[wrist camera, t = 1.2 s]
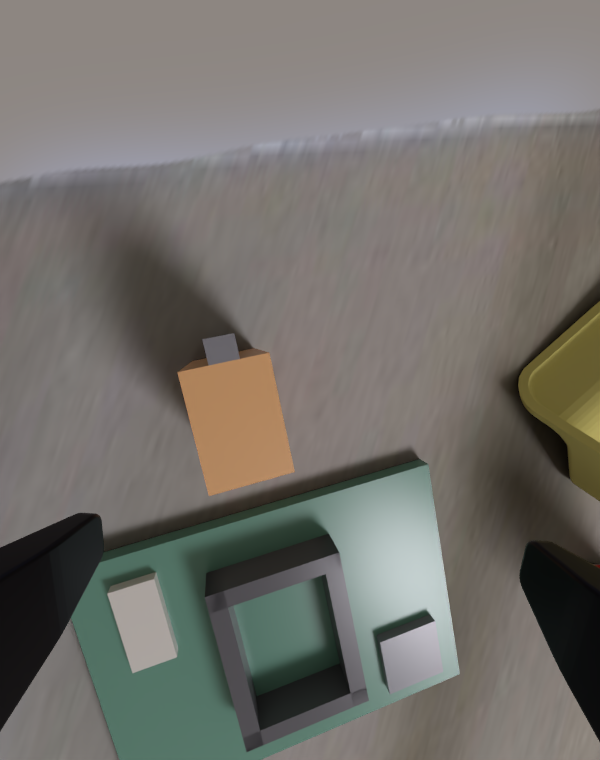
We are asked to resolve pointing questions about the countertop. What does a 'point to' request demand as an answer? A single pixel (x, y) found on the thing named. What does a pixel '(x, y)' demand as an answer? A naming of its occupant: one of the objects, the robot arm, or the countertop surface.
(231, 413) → the keyed plug
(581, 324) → the plastic component
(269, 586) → the board
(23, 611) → the robot arm
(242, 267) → the countertop surface
